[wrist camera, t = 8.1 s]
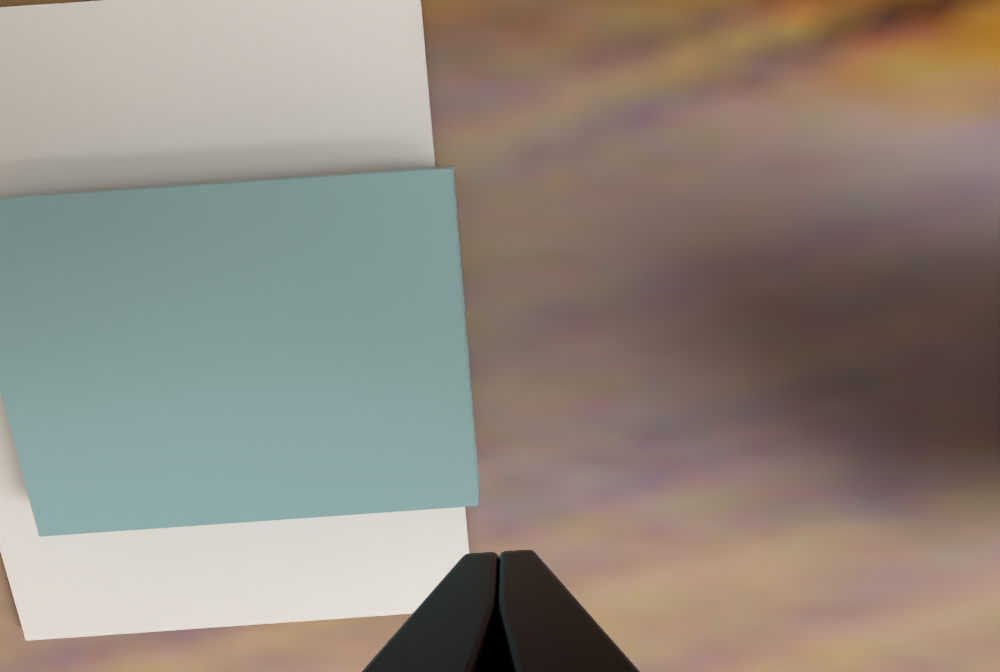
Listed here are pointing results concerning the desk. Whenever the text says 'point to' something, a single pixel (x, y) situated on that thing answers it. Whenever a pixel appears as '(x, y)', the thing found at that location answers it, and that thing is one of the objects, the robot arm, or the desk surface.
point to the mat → (205, 159)
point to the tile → (237, 351)
